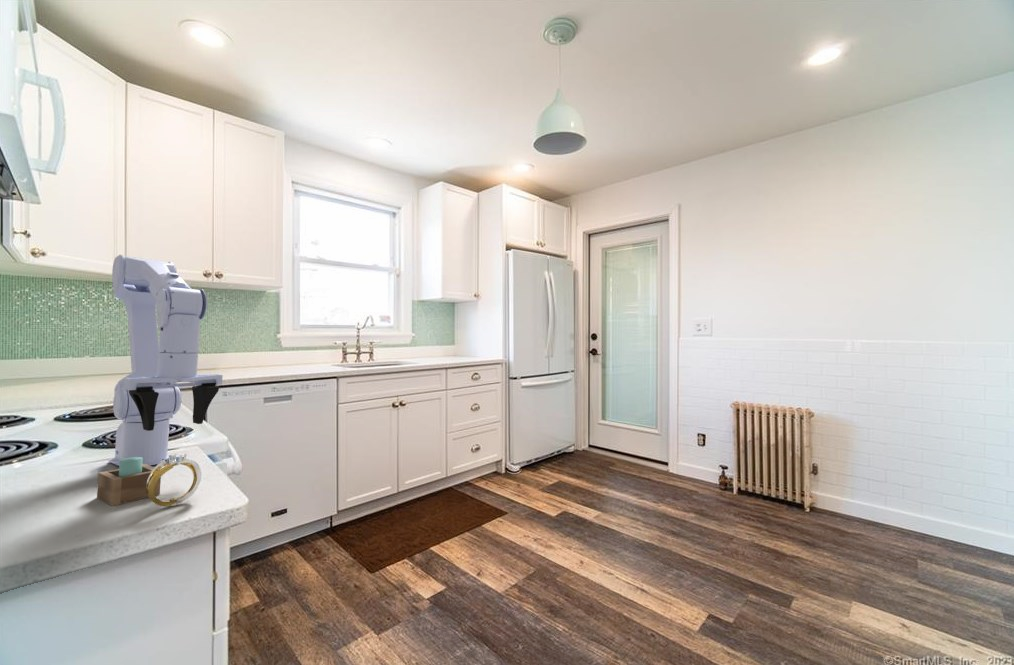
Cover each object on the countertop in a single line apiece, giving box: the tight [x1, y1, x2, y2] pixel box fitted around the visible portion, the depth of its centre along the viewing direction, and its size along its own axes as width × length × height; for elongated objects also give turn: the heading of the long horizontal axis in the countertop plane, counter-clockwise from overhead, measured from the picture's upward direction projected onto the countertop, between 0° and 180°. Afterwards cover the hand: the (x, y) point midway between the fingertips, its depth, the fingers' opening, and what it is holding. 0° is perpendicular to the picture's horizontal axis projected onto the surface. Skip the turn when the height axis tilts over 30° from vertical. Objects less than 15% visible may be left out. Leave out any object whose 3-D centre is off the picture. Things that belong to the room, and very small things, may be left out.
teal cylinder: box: [118, 457, 143, 477], centre depth 68 cm, size 3×3×6 cm
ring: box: [146, 453, 202, 507], centre depth 65 cm, size 7×3×8 cm, turn 147°
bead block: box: [96, 464, 162, 507], centre depth 68 cm, size 6×6×4 cm
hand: (174, 426), depth 75 cm, fingers open, 7 cm apart
